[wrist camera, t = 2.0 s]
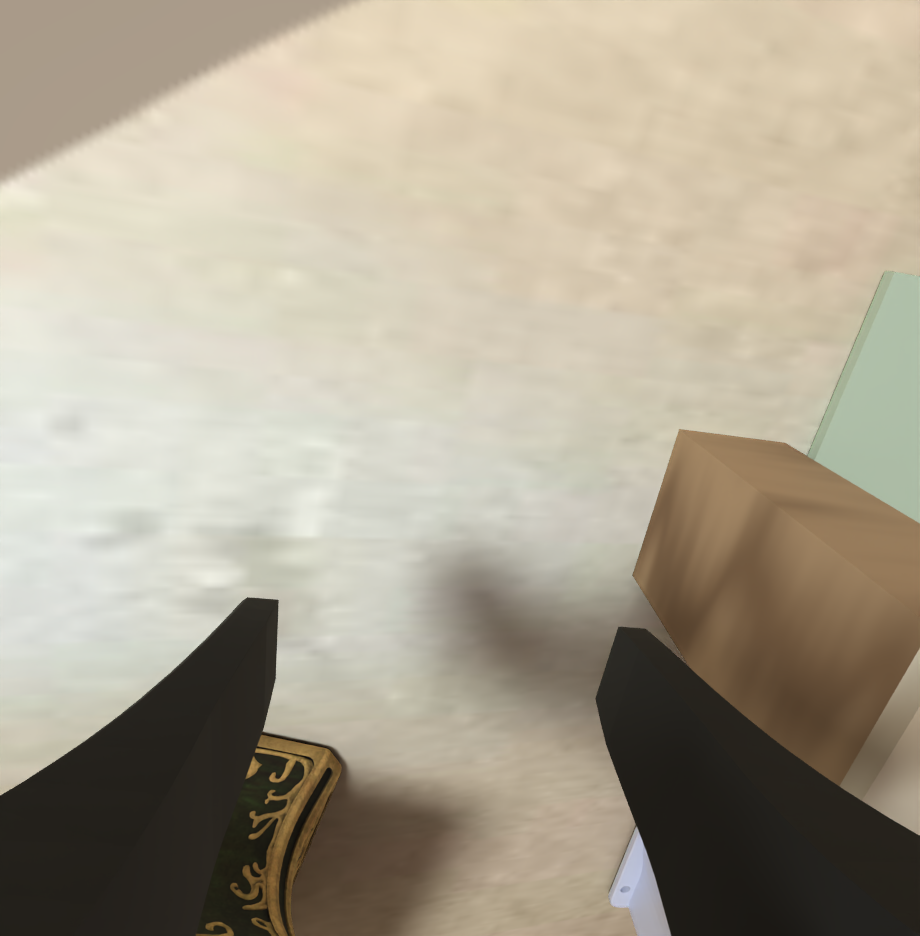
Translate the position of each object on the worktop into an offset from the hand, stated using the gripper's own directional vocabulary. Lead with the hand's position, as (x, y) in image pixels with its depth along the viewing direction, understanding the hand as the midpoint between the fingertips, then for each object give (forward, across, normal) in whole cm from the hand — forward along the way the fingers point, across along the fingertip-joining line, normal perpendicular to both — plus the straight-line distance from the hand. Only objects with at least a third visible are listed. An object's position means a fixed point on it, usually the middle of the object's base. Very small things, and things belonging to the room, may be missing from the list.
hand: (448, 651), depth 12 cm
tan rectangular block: (+8, -10, 0) cm, 13 cm away
